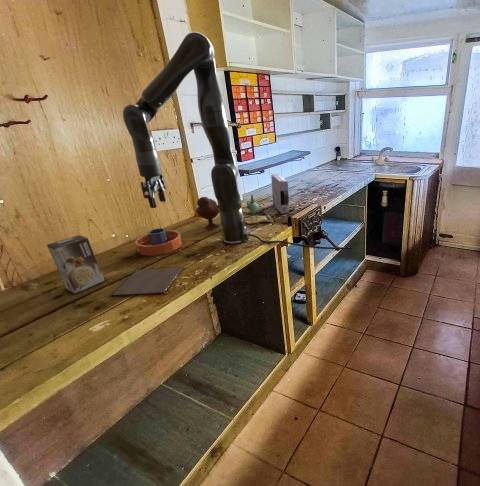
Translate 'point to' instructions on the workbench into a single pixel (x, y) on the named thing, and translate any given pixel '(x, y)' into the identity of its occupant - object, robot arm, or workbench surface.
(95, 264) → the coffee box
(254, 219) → the frog figurine
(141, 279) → the walnut mat
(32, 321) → the workbench surface
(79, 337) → the workbench surface
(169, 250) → the terracotta bowl
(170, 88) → the robot arm
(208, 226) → the ice cream bowl
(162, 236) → the blue cup
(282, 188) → the cake pan box
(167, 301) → the workbench surface
